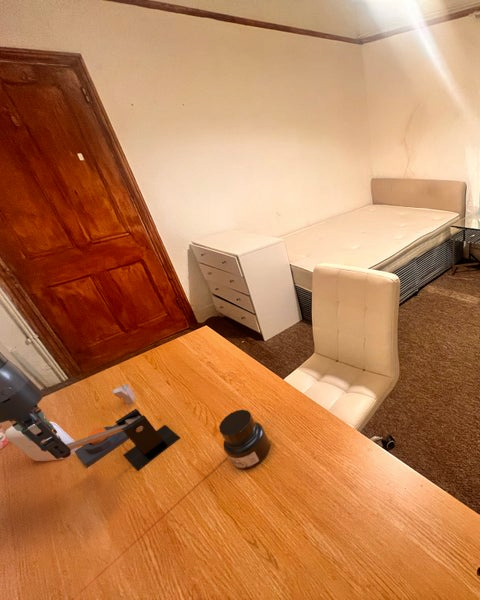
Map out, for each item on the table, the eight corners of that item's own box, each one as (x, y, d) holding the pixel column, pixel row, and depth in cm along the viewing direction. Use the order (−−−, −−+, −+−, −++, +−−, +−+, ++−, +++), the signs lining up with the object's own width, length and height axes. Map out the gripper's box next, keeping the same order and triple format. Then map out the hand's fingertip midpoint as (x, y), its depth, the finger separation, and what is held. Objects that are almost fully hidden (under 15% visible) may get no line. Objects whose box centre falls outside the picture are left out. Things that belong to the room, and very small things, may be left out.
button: (94, 447, 77) (89, 442, 76) (88, 440, 79) (84, 436, 78) (111, 435, 80) (107, 431, 79) (105, 429, 81) (101, 425, 80)
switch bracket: (139, 473, 74) (112, 443, 68) (125, 457, 78) (98, 428, 72) (181, 439, 81) (160, 410, 75) (167, 427, 85) (145, 398, 79)
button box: (89, 469, 76) (79, 460, 74) (79, 456, 79) (69, 447, 77) (135, 437, 83) (127, 428, 81) (124, 426, 86) (116, 417, 84)
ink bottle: (223, 463, 75) (203, 432, 69) (249, 432, 82) (233, 402, 75) (254, 475, 72) (237, 444, 65) (279, 442, 79) (265, 411, 72)
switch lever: (62, 461, 63) (61, 451, 62) (54, 450, 65) (53, 440, 64) (145, 430, 75) (145, 421, 74) (136, 421, 77) (136, 413, 77)
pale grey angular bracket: (128, 396, 96) (114, 378, 92) (135, 393, 97) (121, 375, 93) (127, 411, 91) (111, 392, 87) (134, 408, 92) (119, 389, 87)
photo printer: (31, 463, 78) (-6, 433, 72) (47, 447, 82) (13, 417, 76) (69, 461, 78) (36, 431, 72) (84, 445, 82) (53, 415, 75)
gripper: (-42, 390, 55) (23, 444, 64) (-26, 422, 49) (43, 478, 57) (17, 364, 61) (69, 417, 69) (38, 390, 54) (93, 445, 62)
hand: (57, 444), depth 63 cm, fingers open, 8 cm apart
